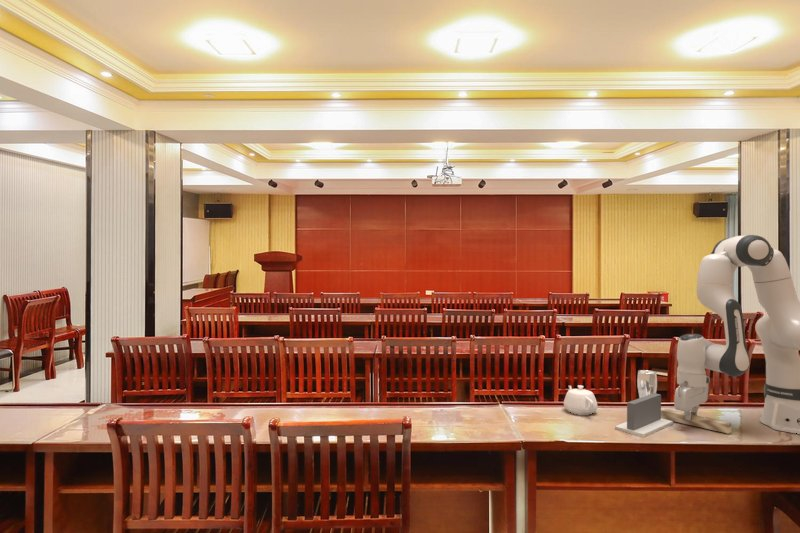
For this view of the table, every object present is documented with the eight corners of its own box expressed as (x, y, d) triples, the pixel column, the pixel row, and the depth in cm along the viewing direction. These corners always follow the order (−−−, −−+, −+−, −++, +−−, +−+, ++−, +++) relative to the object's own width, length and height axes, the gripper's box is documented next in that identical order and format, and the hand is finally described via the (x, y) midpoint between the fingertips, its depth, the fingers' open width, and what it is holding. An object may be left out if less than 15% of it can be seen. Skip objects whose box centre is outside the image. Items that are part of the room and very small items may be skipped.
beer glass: (660, 412, 190) (660, 373, 190) (642, 412, 191) (642, 373, 190) (651, 407, 197) (651, 370, 197) (633, 407, 198) (634, 369, 197)
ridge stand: (673, 424, 177) (673, 396, 177) (643, 437, 163) (643, 407, 163) (644, 417, 185) (645, 390, 185) (614, 429, 171) (615, 400, 171)
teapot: (554, 404, 201) (554, 379, 201) (583, 403, 202) (583, 379, 202) (576, 420, 181) (576, 392, 181) (608, 419, 182) (608, 391, 182)
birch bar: (731, 431, 168) (731, 422, 168) (728, 433, 166) (728, 424, 166) (657, 415, 186) (657, 407, 186) (654, 416, 184) (654, 408, 184)
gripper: (688, 386, 167) (688, 426, 167) (711, 377, 180) (711, 414, 180) (669, 382, 172) (669, 422, 172) (692, 374, 185) (692, 410, 185)
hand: (691, 418), depth 176 cm, fingers closed on birch bar, 3 cm apart
